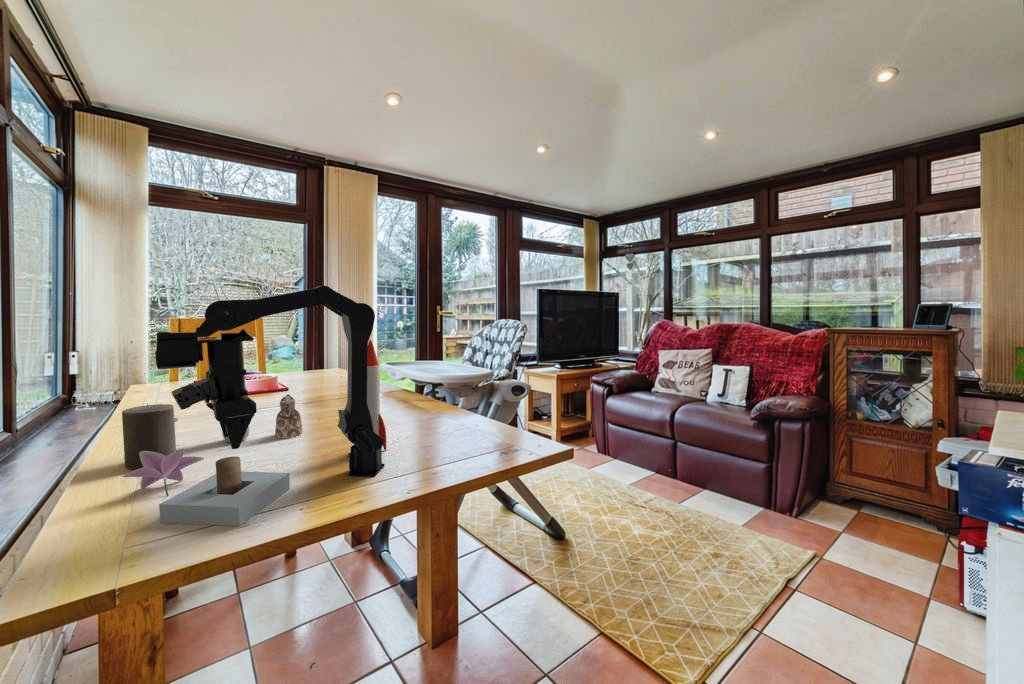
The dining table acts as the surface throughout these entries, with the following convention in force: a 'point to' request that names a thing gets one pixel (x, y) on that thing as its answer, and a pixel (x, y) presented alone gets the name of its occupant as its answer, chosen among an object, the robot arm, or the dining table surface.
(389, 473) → the dining table surface
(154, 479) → the lily
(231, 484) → the walnut peg
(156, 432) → the pillar candle
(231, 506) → the socket block
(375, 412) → the toy rocket
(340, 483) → the dining table surface
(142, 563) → the dining table surface
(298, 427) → the figurine
